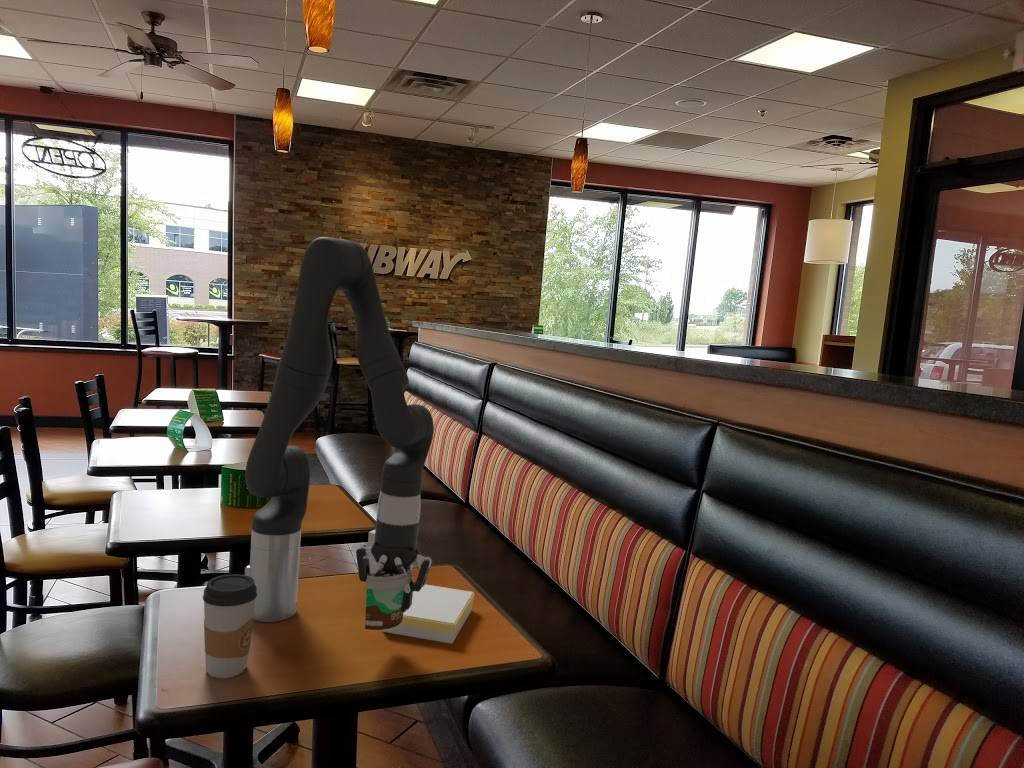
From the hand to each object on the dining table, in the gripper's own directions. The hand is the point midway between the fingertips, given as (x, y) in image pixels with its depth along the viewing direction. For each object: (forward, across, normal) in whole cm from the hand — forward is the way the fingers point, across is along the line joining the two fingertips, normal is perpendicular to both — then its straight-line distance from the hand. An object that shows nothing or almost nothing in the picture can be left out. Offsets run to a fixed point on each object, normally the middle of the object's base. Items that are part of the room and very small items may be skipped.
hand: (389, 607), depth 126 cm
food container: (+3, +1, 0) cm, 3 cm away
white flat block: (+9, +4, +16) cm, 18 cm away
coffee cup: (+9, -22, -14) cm, 28 cm away
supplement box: (+9, -10, +30) cm, 33 cm away
